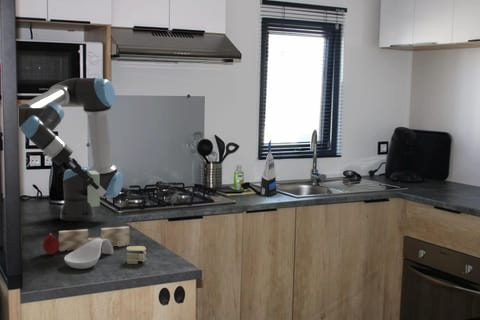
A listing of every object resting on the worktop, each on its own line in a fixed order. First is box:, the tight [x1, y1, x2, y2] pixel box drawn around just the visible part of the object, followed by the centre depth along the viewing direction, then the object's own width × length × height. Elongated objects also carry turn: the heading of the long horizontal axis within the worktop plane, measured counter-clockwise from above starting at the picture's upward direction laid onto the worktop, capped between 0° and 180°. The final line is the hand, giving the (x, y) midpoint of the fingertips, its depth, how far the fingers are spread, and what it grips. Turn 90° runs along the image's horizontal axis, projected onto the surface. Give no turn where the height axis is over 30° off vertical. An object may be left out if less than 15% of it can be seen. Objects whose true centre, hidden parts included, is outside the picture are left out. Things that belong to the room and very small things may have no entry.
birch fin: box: [58, 225, 131, 252], centre depth 240 cm, size 26×2×7 cm, turn 112°
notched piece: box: [87, 171, 101, 208], centre depth 237 cm, size 10×3×12 cm, turn 21°
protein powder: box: [259, 139, 278, 198], centre depth 362 cm, size 10×24×30 cm, turn 174°
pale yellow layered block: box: [125, 245, 147, 265], centre depth 221 cm, size 10×9×6 cm
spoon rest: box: [63, 237, 115, 270], centre depth 221 cm, size 24×12×7 cm, turn 163°
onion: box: [42, 232, 60, 256], centre depth 228 cm, size 6×6×8 cm
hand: (101, 191), depth 239 cm, fingers closed on notched piece, 10 cm apart
